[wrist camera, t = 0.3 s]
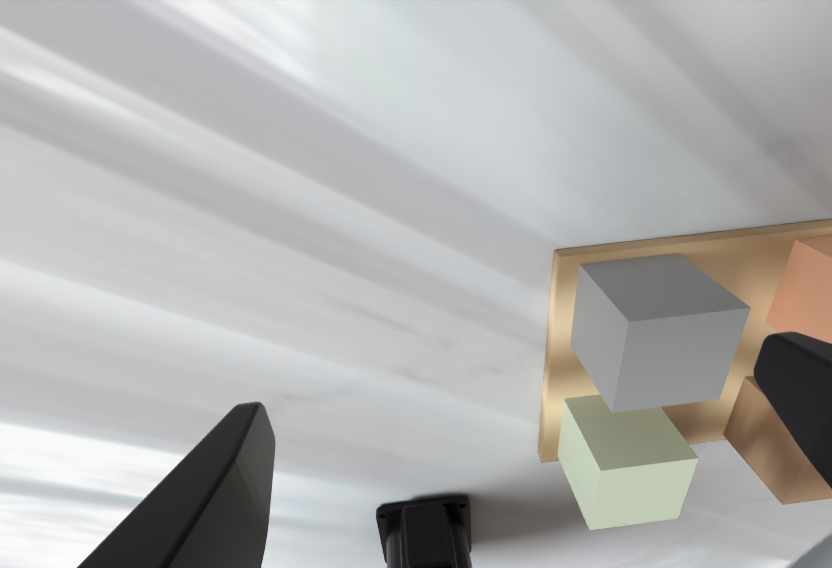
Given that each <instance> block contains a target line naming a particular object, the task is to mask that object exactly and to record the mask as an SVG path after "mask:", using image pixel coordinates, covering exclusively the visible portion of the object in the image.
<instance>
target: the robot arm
mask: <svg viewBox="0 0 832 568" xmlns="http://www.w3.org/2000/svg"><path fill="white" fill-rule="evenodd" d="M753 374H754V379H755V381H756V383H757V385H758V386H759V388H760V389H761V391H762V392H763V394H764V395H765V397H766V398H767V400H768V401H769V403H770V404H771V406H772V407H773V409H774V410H775V412H776V413H777V415H778V416H779V418H780V419H781V421H782V422H783V424H784V425H785V427H786V428H787V430H788V431H789V433H790V434H791V436H792V437H793V439H794V440H795V442H796V443H797V445H798V446H799V448H800V449H801V450H802V452H803V453H804V455H805V456H806V457H807V459H808V460H809V461H810V463H811V464H812V465H813V467H814V468H815V469H816V471H817V472H818V473H819V474H820V476H821V477H822V478H823V479H824V480H825V482H826V483H827V484H828V485H829V487H830V488H831V489H832V344H831V343H828V342H825V341H822V340H819V339H816V338H813V337H810V336H807V335H804V334H801V333H798V332H793V331H788V332H780V333H773V334H770V335H768V336H767V337H766V338H765V339H764V340H763V343H762V346H761V349H760V351H759V354H758V357H757V360H756V363H755V366H754V369H753ZM274 457H275V436H274V433H273V430H272V427H271V424H270V421H269V418H268V416H267V413H266V410H265V407H264V405H263V404H262V403H261V402H250V403H243V404H238V405H236V406H235V407H234V408H233V409H232V410H231V411H230V412H229V413H228V414H227V415H226V416H225V417H224V418H223V419H222V420H221V421H220V422H219V423H218V424H217V425H216V426H215V427H214V428H213V429H212V430H211V431H210V432H209V433H208V434H207V435H206V436H205V437H204V438H203V439H202V440H201V441H200V442H199V443H198V444H197V445H196V446H195V448H194V449H193V450H192V451H191V452H190V453H189V454H188V455H187V456H186V457H185V458H184V459H183V460H182V461H181V462H180V463H179V464H178V465H177V466H176V467H175V468H174V469H173V470H172V471H171V472H170V473H169V474H168V475H167V476H166V477H165V478H164V479H163V480H162V481H161V482H160V483H159V484H158V485H157V486H156V487H155V488H154V489H153V490H152V491H151V492H150V493H149V494H148V495H147V497H146V498H145V499H144V500H143V501H142V502H141V503H140V504H139V505H138V506H137V507H136V508H135V509H134V510H133V511H132V512H131V513H130V514H129V515H128V516H127V517H126V518H125V519H124V520H123V521H122V522H121V523H120V524H119V525H118V526H117V527H116V528H115V529H114V530H113V531H112V532H111V533H110V534H109V535H108V536H107V537H106V538H105V539H104V540H103V541H102V542H101V543H100V544H99V546H98V547H97V548H96V549H95V550H94V551H93V552H92V553H91V554H90V555H89V556H88V557H87V558H86V559H85V560H84V561H83V562H82V563H81V564H80V565H79V566H78V567H77V568H261V565H262V560H263V555H264V550H265V545H266V539H267V532H268V523H269V513H270V502H271V491H272V479H273V468H274ZM376 519H377V524H378V529H379V534H380V539H381V544H382V549H383V554H384V559H385V562H386V563H387V568H472V564H471V558H470V552H471V526H470V503H469V499H468V498H467V497H465V496H459V497H451V498H444V499H436V500H428V501H420V502H413V503H405V504H397V505H389V506H382V507H379V508H377V510H376Z"/></svg>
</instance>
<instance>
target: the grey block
mask: <svg viewBox="0 0 832 568" xmlns="http://www.w3.org/2000/svg"><path fill="white" fill-rule="evenodd" d="M750 310H751V307H750V306H748V305H747V304H746V303H744V302H743V301H742V300H740V299H739V298H738V297H736V296H735V295H734V294H732V293H731V292H730V291H728V290H727V289H726V288H724V287H723V286H722V285H720V284H719V283H718V282H716V281H715V280H714V279H712V278H711V277H710V276H708V275H707V274H706V273H704V272H703V271H702V270H701V269H699V268H698V267H697V266H695V265H694V264H693V263H691V262H690V261H689V260H687V259H686V258H685V257H683V256H682V255H681V254H679V253H673V254H664V255H655V256H646V257H637V258H628V259H619V260H611V261H602V262H593V263H584V264H579V271H578V279H577V288H576V297H575V306H574V315H573V323H572V332H571V341H570V346H571V347H572V349H573V351H574V352H575V354H576V355H577V357H578V359H579V360H580V362H581V364H582V365H583V367H584V368H585V370H586V372H587V373H588V375H589V377H590V378H591V380H592V381H593V383H594V385H595V386H596V388H597V390H598V391H599V393H600V394H601V396H602V398H603V399H604V401H605V403H606V404H607V406H608V407H609V409H610V411H611V412H612V413H614V412H622V411H630V410H638V409H646V408H654V407H662V406H670V405H678V404H686V403H694V402H702V401H710V400H719V399H720V396H721V393H722V390H723V387H724V384H725V382H726V379H727V376H728V373H729V370H730V367H731V364H732V361H733V359H734V356H735V353H736V350H737V347H738V344H739V341H740V338H741V336H742V333H743V330H744V327H745V324H746V321H747V318H748V315H749V312H750Z"/></svg>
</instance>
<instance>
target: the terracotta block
mask: <svg viewBox="0 0 832 568" xmlns="http://www.w3.org/2000/svg"><path fill="white" fill-rule="evenodd" d="M765 322H766V323H767V324H768V325H770V326H771V327H772V328H774V329H775V330H776V331H778V332H779V333H780V332H788V331H793V332H798V333H801V334H804V335H807V336H810V337H813V338H816V339H819V340H822V341H825V342H828V343H831V344H832V236H825V237H816V238H807V239H798V240H795V243H794V245H793V248H792V251H791V253H790V256H789V259H788V261H787V264H786V267H785V269H784V272H783V275H782V277H781V280H780V283H779V285H778V288H777V291H776V294H775V296H774V299H773V302H772V304H771V307H770V310H769V312H768V315H767V318H766V320H765Z"/></svg>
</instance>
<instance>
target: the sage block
mask: <svg viewBox="0 0 832 568" xmlns="http://www.w3.org/2000/svg"><path fill="white" fill-rule="evenodd" d="M557 456H558V458H559V461H560V463H561V465H562V468H563V470H564V472H565V475H566V477H567V479H568V482H569V484H570V486H571V489H572V491H573V493H574V496H575V498H576V500H577V503H578V505H579V507H580V510H581V512H582V514H583V516H584V519H585V521H586V523H587V526H588V528H589V530H596V529H603V528H611V527H618V526H626V525H633V524H641V523H648V522H656V521H663V520H671V519H678V517H679V514H680V511H681V508H682V505H683V502H684V500H685V497H686V494H687V491H688V488H689V485H690V482H691V479H692V477H693V474H694V471H695V468H696V465H697V462H698V459H699V458H698V456H697V455H696V454H695V452H694V451H693V450H692V448H691V447H690V446H689V444H688V443H687V442H686V440H685V439H684V438H683V436H682V435H681V434H680V432H679V431H678V430H677V428H676V427H675V426H674V424H673V423H672V422H671V420H670V419H669V418H668V416H667V415H666V414H665V412H664V411H663V410H662V408H661V407H654V408H646V409H638V410H630V411H622V412H614V413H612V412H611V411H610V409H609V407H608V406H607V404H606V403H605V401H604V399H603V398H602V396H601V394H598V395H590V396H582V397H574V398H566V399H564V402H563V411H562V420H561V428H560V437H559V446H558V455H557Z"/></svg>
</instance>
